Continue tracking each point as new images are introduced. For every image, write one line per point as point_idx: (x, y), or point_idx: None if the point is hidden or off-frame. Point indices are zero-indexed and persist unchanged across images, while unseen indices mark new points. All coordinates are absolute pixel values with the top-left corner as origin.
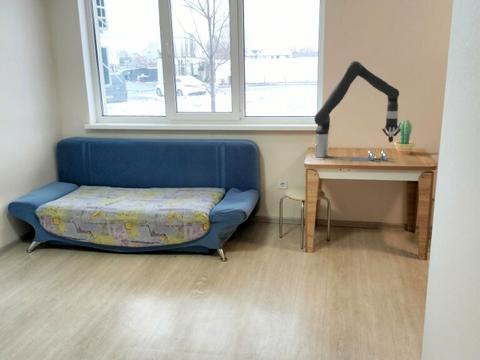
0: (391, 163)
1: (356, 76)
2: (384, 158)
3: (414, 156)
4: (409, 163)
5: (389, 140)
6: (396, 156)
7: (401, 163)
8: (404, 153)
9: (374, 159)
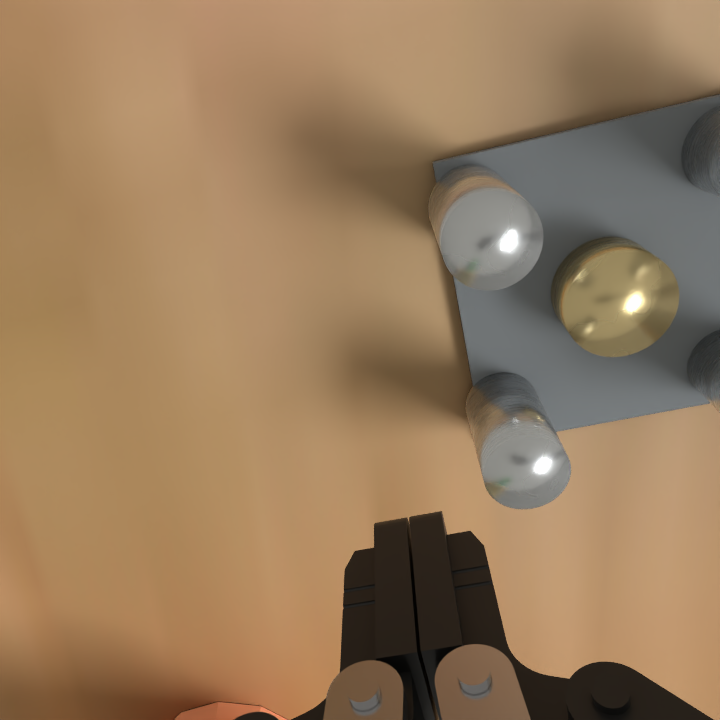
0: (342, 49)
1: None
2: (495, 176)
3: (73, 631)
4: (24, 149)
5: (460, 552)
6: (309, 585)
7: (159, 107)
8: (217, 716)
9: None
